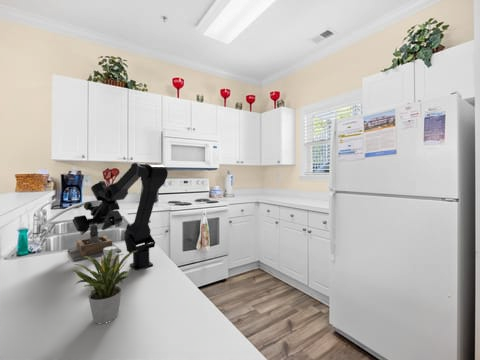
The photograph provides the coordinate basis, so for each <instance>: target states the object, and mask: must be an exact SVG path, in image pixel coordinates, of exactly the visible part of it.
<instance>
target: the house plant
mask: <svg viewBox="0 0 480 360" xmlns="http://www.w3.org/2000/svg"><path fill="white" fill-rule="evenodd" d="M112 250H113V249H111V250H110V251H109V253H108V256H107V259H106V256H105V255H104V254H103V256H104V268H105V272H104V271H103V269H102V267H101V264H100V263H101V262H99V261H98V260H97V259H96V258H91V257H88V256H89V255H88V256H84V257H87V258H89V259H88V260H89V261H90V262H91V263H93V265H94V267H95V269H96V271H95V270H91V269H89V268H88V267H87V266H84V265H83V264H78V263H74V265H75V266H76V265H77V266H78V267H81V268H83V269H85V270H86V272H89V273H90V274H91V275H92V276H93V277H94V278H93V277H92V276H91V275H88V274H86V273H84V272H82V271H81V270H76V269H72V272H74V273H75V274H76V275H77V276H78V277H79V278H80V279H81V280H78V281H77V282H76V283H75V285H76V284H79V283H86V285H85V284H84V287H93V289H92V290H91V291H90V293H89V294H88V303H89V306H90V309H91V315H92V319H93V322H94V323H95V324H96V323H105V324H107V323H106V322H108V323H110V322H109V321H111V322H113V321H114V320H115V319H117V318H118V316H119V311H120V303H121V297H122V287H121V286H119V285H118V284H119V283H120V284H121V285H123V282H124V280H126V279H127V278H129V276H127V275H125V274H128V273H130V274H131V272H130V271H127V270H123V271H121V269H122V268H123V267H124V266H125V264H126V263H127V261H126V259H127V258H129V257H130V256H131V255H133V253H134V252H136V251H133V252H131V253H129V252H128V254H125V256H124V257H122V259H121V260H120V261H119V265H118V267H117V269H116V271H115V273H114V269H115V265H116V261H117V259H118V257H119V258H120V256H123V255H124V253H122V254H119V253H118V255H119V256H118V255H116V257H115V259H114V262H113V265H111V266H110V261H111V257H112ZM137 251H138V250H137ZM125 261H126V262H125ZM120 271H121V272H120ZM118 272H119V275H118V276H117V277H116V275H117V274H118ZM114 318H115V319H114ZM113 319H114V320H113Z"/></svg>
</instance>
